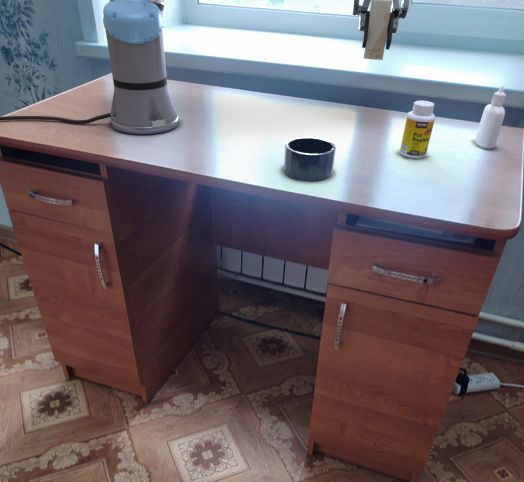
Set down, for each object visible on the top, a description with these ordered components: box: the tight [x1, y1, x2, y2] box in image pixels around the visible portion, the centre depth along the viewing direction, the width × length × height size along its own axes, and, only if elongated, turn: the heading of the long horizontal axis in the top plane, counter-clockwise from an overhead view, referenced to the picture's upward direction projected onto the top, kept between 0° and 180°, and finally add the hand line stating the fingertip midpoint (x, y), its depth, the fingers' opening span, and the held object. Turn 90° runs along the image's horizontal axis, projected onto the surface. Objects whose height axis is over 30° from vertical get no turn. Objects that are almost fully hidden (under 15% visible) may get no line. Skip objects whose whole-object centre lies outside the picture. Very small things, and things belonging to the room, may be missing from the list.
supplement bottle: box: [399, 100, 436, 159], centre depth 104 cm, size 6×6×10 cm
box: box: [363, 0, 392, 61], centre depth 111 cm, size 5×4×11 cm
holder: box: [283, 136, 336, 182], centre depth 97 cm, size 9×9×5 cm
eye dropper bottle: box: [474, 85, 507, 150], centre depth 109 cm, size 4×6×12 cm
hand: (376, 44), depth 109 cm, fingers closed on box, 4 cm apart
